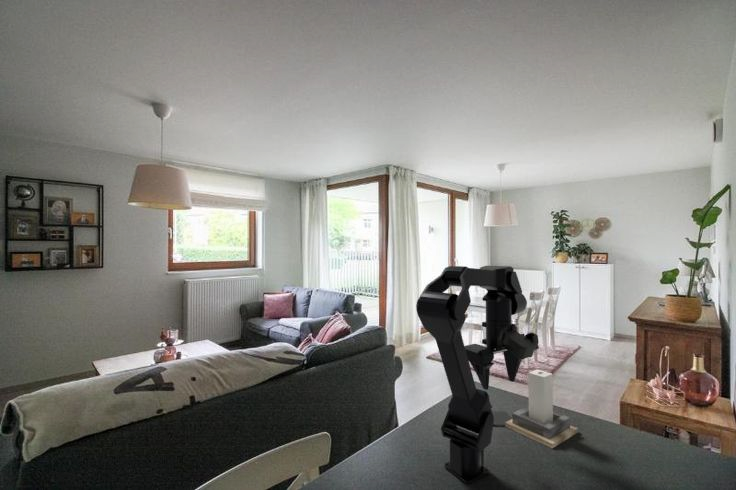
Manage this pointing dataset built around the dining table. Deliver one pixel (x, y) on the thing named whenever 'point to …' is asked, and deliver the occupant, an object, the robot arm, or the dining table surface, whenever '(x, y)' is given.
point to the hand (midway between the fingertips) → (499, 385)
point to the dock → (542, 427)
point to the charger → (540, 396)
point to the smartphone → (501, 418)
